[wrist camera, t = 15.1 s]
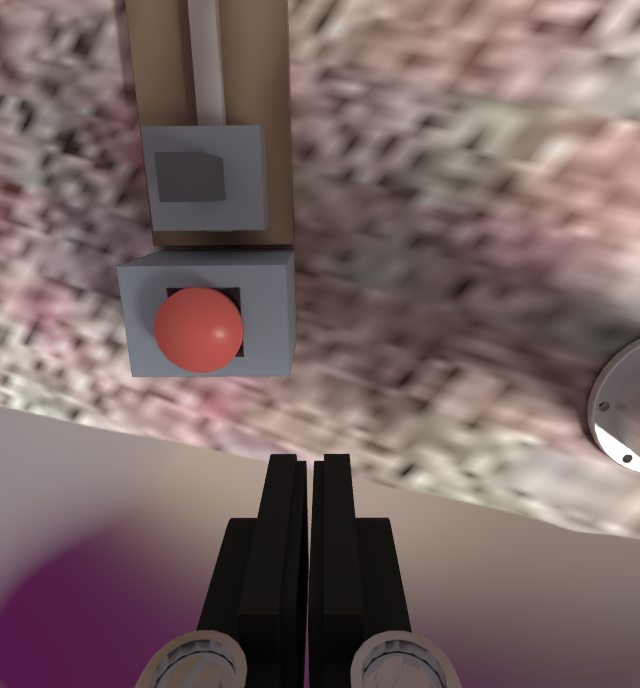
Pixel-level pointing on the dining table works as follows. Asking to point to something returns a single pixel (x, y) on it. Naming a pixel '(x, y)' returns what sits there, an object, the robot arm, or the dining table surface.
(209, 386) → the dining table surface
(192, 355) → the button
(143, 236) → the dining table surface
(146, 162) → the carriage
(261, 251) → the end cabinet
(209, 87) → the board
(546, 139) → the dining table surface
